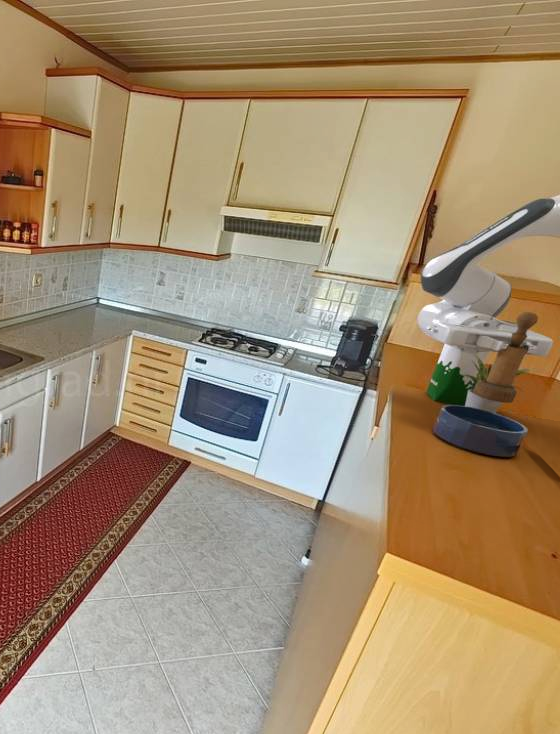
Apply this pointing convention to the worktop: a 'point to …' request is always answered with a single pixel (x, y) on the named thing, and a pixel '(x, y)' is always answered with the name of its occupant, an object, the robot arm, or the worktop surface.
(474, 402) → the house plant
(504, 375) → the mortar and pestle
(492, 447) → the bowl
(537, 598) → the worktop surface
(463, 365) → the milk carton
